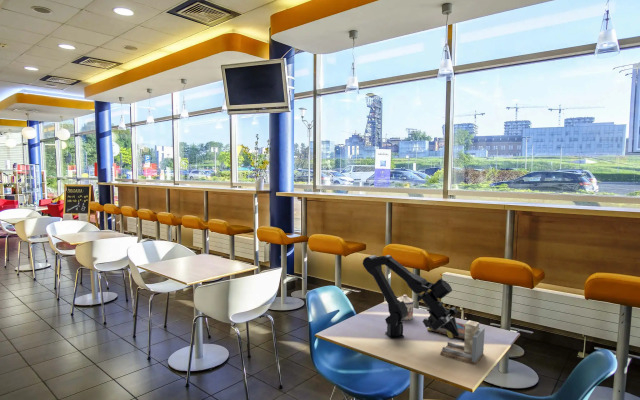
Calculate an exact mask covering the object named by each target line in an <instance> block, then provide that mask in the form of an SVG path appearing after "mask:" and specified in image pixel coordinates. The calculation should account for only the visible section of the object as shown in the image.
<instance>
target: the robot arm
mask: <svg viewBox="0 0 640 400" xmlns="http://www.w3.org/2000/svg"><path fill="white" fill-rule="evenodd" d="M362 265H363V268H364V269H365V271H367V273H368V274H370V275H371V276H372V277H373V278H374V281H375V282H376V284H377V286H378V288H379V291H380V292H381V293H382V296H383V297H384V299H385V301H386V303H387V307H388V313H389V316H387V317H386V318H385V319H384V320H385V323H386V326H387V327H386V331H385V332H384V333H385V335H387V336H388V337H390V338H391V339H399V338H404V337H405V335H404V324H403V321H405V320H404V318H406V317H407V315H408V310H407V309H408V308H407V307H406V306H405V303H404V301H401V302H400V301H399V300H398V299H397V298H398V297H397V296H396V294H395V292H394V291H393V289H392V287H391V285H390V282H388V280H387V277H386V276H385V274H384V272H383V268H382V267H383V266H386V267H387V268H388V269H390V270H391V271H392V272H393V273H395V274H396V275H397V276H398V277H400V278H401V279H402V280H403V281H404V282H405V283H406V285H407V286H408V288H410V290H411V291H412V292H413V293H414V294H417V299H416V301H417V302H418V303H419V302H421V301H423V303H424V304H425V306H426V307H427V308H428V314H429V316H428V318H427V317H425V318H424V319H423V320H422V323H423V325H424V327H425V328H430V329H431V328H432V329H433V332H435V330H436V329H438V328H445V329H447V330H448V331H450V332H451V333H452V334H454V335H455V336H456V337H455V338H458V336H459V332H458V328H457V324H456V322H457V319H456V316H454V315H456V314H458V313H459V310H458V309H457V307H451V308H450V309H446V307H445V305H444V304H445V303H444V302H443V301H440V299H441V300H442V299H443V298H445V297H446V296H447V295H450V293H451V292H453V289H452V286H451V284H449V283H448V282H447V281H446V280H444V279H443V278H439V279H438V280H437V281H436V282H435V283H434V282H430V281H428V280H427V279H426V278H424V277H422V276H420V275H418V274H416V273H413V272H411V271H410V270H409V269H408V268H406V267H405V266H404V265H402V264H401V263H400V262H399V261H397V260H396V259H395V258H394V257H392V255H390V254H386V255H380V256H378V255H376V254H375V255H374V254H373V255H370V256H366V257H365V258H364V259H363V260H362Z"/></svg>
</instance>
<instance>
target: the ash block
mask: <svg viewBox="0 0 640 400" xmlns="http://www.w3.org/2000/svg"><path fill="white" fill-rule="evenodd" d="M464 324H465V339H464V344H463V346H464V353H467V354H471V355H472V343H473V336H474V335H475V333H476V332H477V331H478V330H479V328H480V327H479V326H480V322H478V321H473V320H470V319H469V320H467V321H466V322H465V323H464Z"/></svg>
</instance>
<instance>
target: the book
mask: <svg viewBox="0 0 640 400" xmlns="http://www.w3.org/2000/svg"><path fill="white" fill-rule="evenodd" d="M456 324H457V328H458V332H459V336H458V337H456V336H455V335H454V334H452V333H451V332H450V331H448V330H447V329H445V328H438V329H436V330H435V331H433V329H432V328H431V329H430V328H429V327H426V330H427V331H433V332H436V333H440V334H442V335H443V334H444V335H447V338H449V339H454V337H455V338H458V339H461V340H462V339H463V340H465V324H466V323H460V322H457V321H456ZM480 328H481V327H479V329H480Z"/></svg>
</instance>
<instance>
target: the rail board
mask: <svg viewBox="0 0 640 400" xmlns="http://www.w3.org/2000/svg"><path fill="white" fill-rule="evenodd" d="M439 353H440V355H441V356H444V357H448V358H451V359H454V360H457V361H461V362H465V363H468V364H471V365H477V363H478V362H479V361H480V359H481V358H482V356H483V355H484V352H483V353H482V354H481V356H480V357H479V358H478V360H477V361H476V362H473V361H472V355H471V354H467V353H464V344H459V343H455V342H451V341H447V344H446V346H442V349H441V351H440V352H439Z"/></svg>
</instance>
